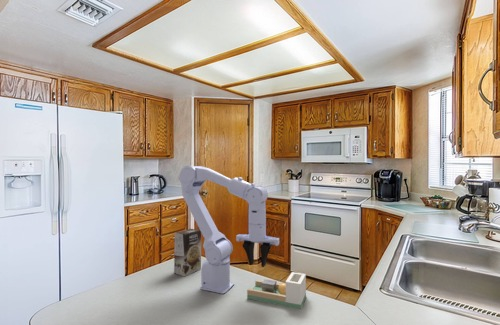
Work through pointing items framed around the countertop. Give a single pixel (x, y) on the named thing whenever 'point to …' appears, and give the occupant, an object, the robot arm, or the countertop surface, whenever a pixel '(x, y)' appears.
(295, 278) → the pitch
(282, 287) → the ball
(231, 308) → the countertop surface
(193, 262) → the coffee box
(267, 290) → the block
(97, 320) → the countertop surface
